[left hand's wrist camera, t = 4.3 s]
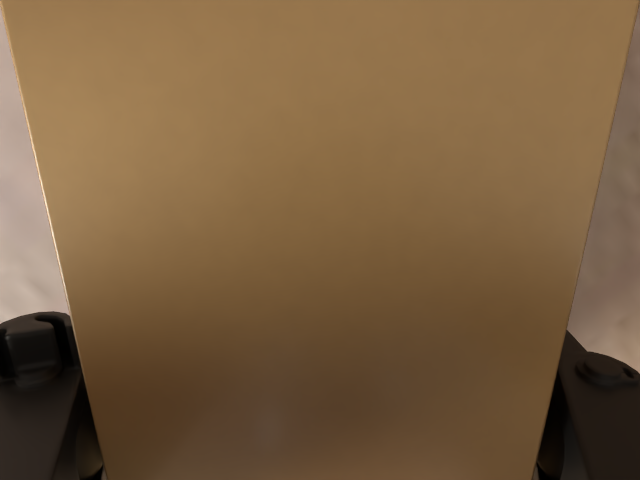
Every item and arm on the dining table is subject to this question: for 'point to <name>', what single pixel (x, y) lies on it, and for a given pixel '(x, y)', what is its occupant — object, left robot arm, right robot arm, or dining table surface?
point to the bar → (319, 223)
